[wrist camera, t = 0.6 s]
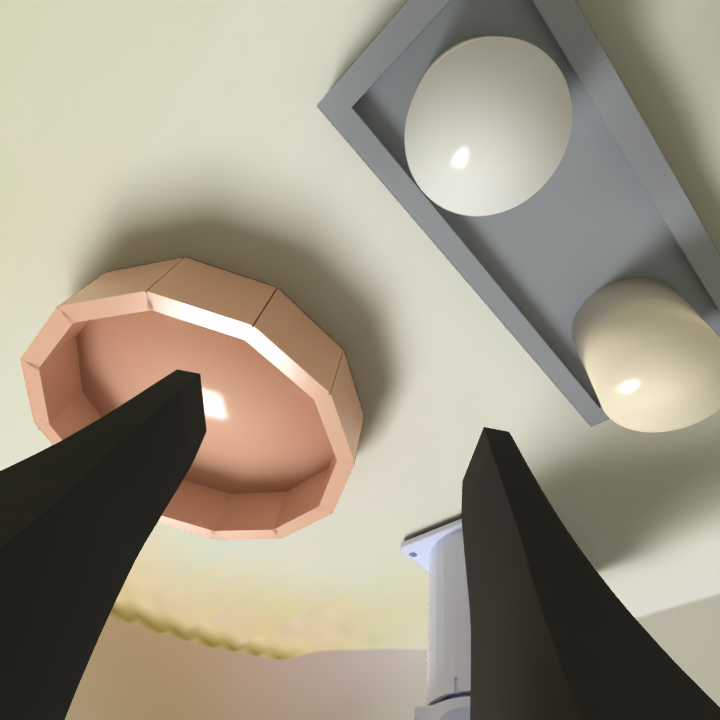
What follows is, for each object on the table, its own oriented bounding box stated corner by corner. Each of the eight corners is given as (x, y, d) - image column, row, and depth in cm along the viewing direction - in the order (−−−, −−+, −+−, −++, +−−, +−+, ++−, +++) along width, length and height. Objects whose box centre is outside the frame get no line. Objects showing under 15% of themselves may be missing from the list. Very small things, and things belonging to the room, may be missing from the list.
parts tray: (753, 329, 18) (771, 346, 17) (584, 409, 21) (591, 426, 20) (503, -105, 12) (509, -117, 11) (324, 101, 15) (316, 105, 14)
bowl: (421, 422, 23) (418, 470, 21) (241, 522, 31) (223, 566, 28) (169, 186, 18) (123, 212, 15) (26, 377, 25) (-20, 415, 23)
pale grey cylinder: (566, 117, 14) (604, 141, 11) (461, 203, 16) (466, 245, 13) (492, 0, 13) (510, -12, 10) (386, 108, 15) (371, 129, 12)
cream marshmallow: (702, 330, 18) (760, 397, 14) (602, 380, 20) (633, 448, 16) (655, 256, 16) (708, 311, 13) (552, 317, 18) (576, 378, 15)
